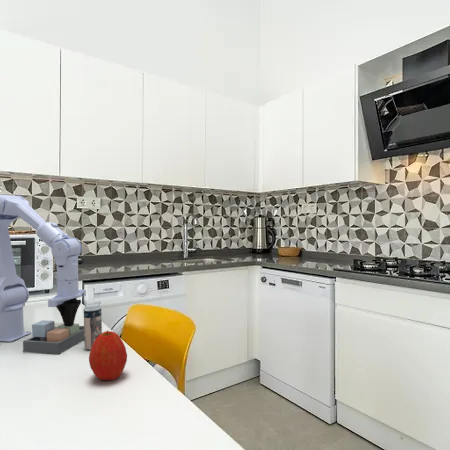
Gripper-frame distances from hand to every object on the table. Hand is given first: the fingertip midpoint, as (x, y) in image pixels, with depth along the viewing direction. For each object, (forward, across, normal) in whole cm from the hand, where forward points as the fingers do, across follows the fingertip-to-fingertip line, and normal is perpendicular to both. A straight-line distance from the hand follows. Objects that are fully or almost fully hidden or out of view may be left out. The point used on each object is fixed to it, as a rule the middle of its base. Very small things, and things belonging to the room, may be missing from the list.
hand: (68, 325), depth 102 cm
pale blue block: (+1, -5, +5) cm, 7 cm away
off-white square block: (+3, 0, +5) cm, 6 cm away
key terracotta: (+3, -5, 0) cm, 6 cm away
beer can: (+5, -3, -10) cm, 11 cm away
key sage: (+3, 0, 0) cm, 3 cm away
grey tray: (+5, -1, +2) cm, 6 cm away
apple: (+5, -19, -24) cm, 31 cm away
